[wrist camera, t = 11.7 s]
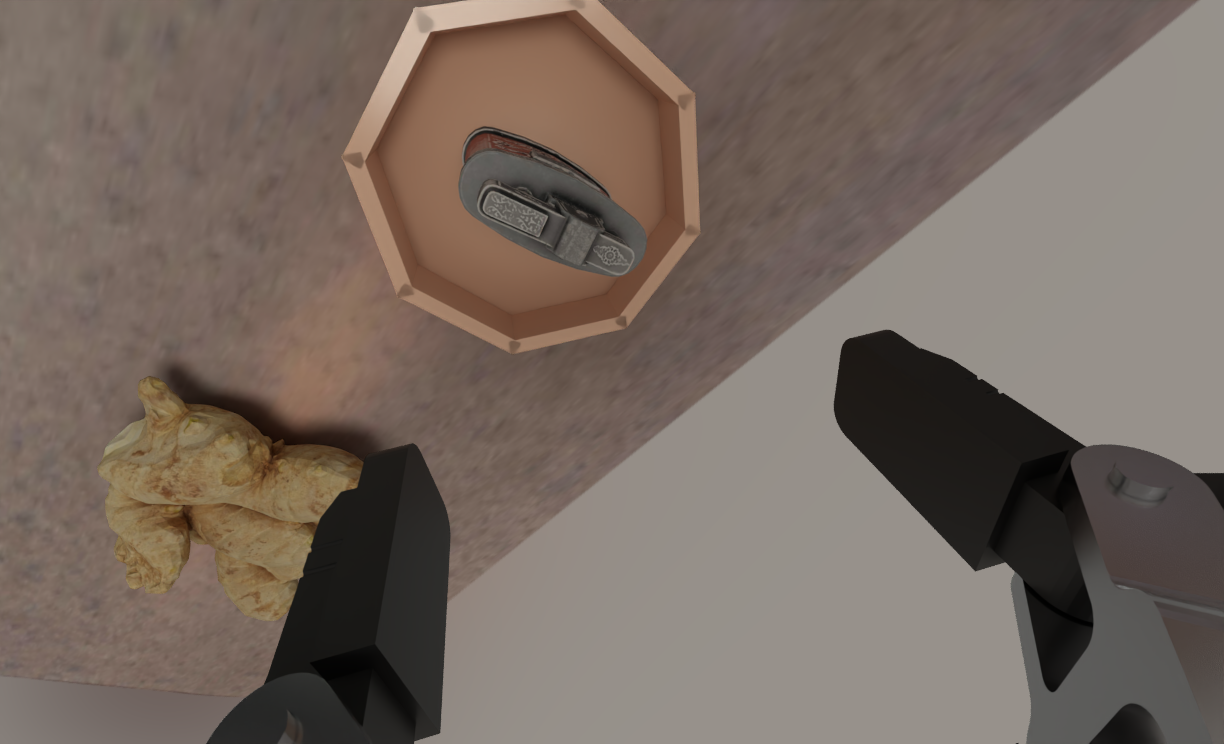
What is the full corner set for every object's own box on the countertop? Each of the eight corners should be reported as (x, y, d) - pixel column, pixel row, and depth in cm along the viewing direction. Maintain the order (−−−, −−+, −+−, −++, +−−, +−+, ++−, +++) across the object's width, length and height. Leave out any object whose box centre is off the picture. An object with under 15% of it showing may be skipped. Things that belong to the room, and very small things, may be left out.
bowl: (661, -23, 24) (691, -35, 21) (680, 284, 33) (703, 311, 29) (315, 29, 22) (288, 25, 19) (432, 339, 31) (427, 374, 28)
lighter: (620, 184, 28) (682, 241, 20) (592, 241, 29) (639, 316, 21) (476, 108, 24) (477, 138, 16) (452, 176, 26) (441, 235, 17)
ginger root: (218, 310, 26) (178, 429, 21) (434, 441, 38) (444, 539, 32) (9, 460, 28) (-76, 603, 23) (274, 540, 40) (258, 647, 35)
